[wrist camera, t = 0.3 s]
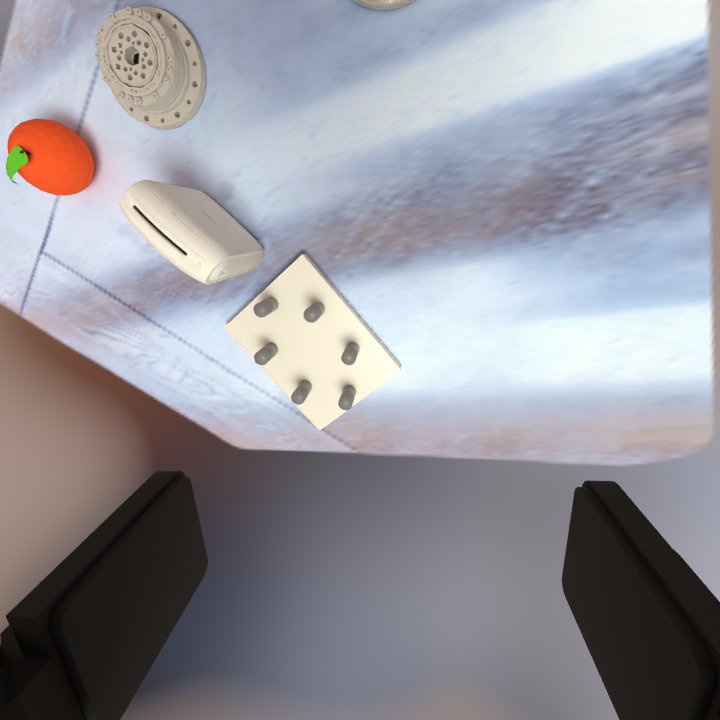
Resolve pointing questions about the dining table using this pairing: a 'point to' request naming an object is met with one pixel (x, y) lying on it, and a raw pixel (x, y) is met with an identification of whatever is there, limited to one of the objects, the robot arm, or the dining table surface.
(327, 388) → the pin tray
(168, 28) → the mechanical component
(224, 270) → the photo printer
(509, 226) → the dining table surface
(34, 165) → the clementine
